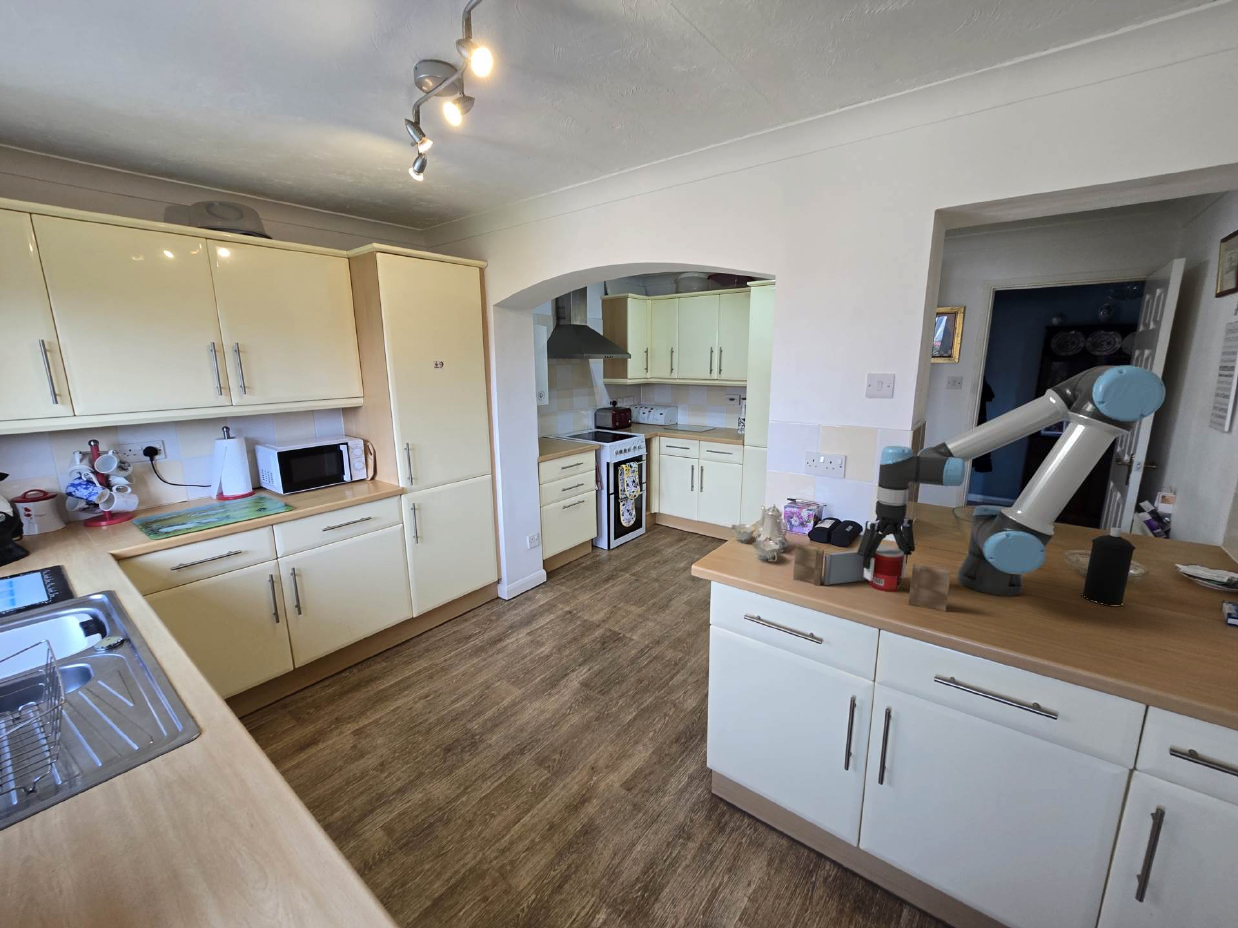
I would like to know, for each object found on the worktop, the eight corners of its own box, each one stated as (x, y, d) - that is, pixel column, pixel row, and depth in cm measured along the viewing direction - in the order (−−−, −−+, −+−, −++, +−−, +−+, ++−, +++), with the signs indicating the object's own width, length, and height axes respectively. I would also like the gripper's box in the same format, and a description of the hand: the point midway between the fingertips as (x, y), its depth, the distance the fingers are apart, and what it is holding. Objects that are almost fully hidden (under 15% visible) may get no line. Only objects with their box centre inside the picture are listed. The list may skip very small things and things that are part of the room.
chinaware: (723, 542, 183) (720, 499, 179) (763, 533, 187) (761, 491, 183) (764, 572, 156) (762, 523, 152) (810, 561, 160) (809, 513, 156)
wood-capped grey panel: (945, 607, 130) (950, 570, 128) (945, 612, 127) (950, 574, 125) (795, 576, 149) (797, 543, 147) (792, 580, 147) (795, 546, 145)
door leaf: (883, 575, 149) (886, 546, 147) (888, 577, 147) (891, 549, 145) (821, 582, 144) (823, 553, 142) (825, 585, 142) (827, 555, 141)
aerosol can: (1109, 608, 128) (1124, 535, 124) (1073, 594, 136) (1086, 525, 132) (1131, 604, 131) (1147, 532, 127) (1094, 590, 138) (1108, 522, 134)
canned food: (903, 593, 138) (908, 555, 136) (873, 590, 140) (876, 554, 137) (894, 581, 145) (898, 545, 143) (865, 579, 147) (868, 544, 145)
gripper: (914, 495, 144) (906, 567, 149) (847, 501, 139) (841, 575, 143) (936, 502, 137) (927, 577, 141) (866, 508, 132) (859, 586, 136)
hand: (883, 576), depth 142 cm, fingers open, 10 cm apart
